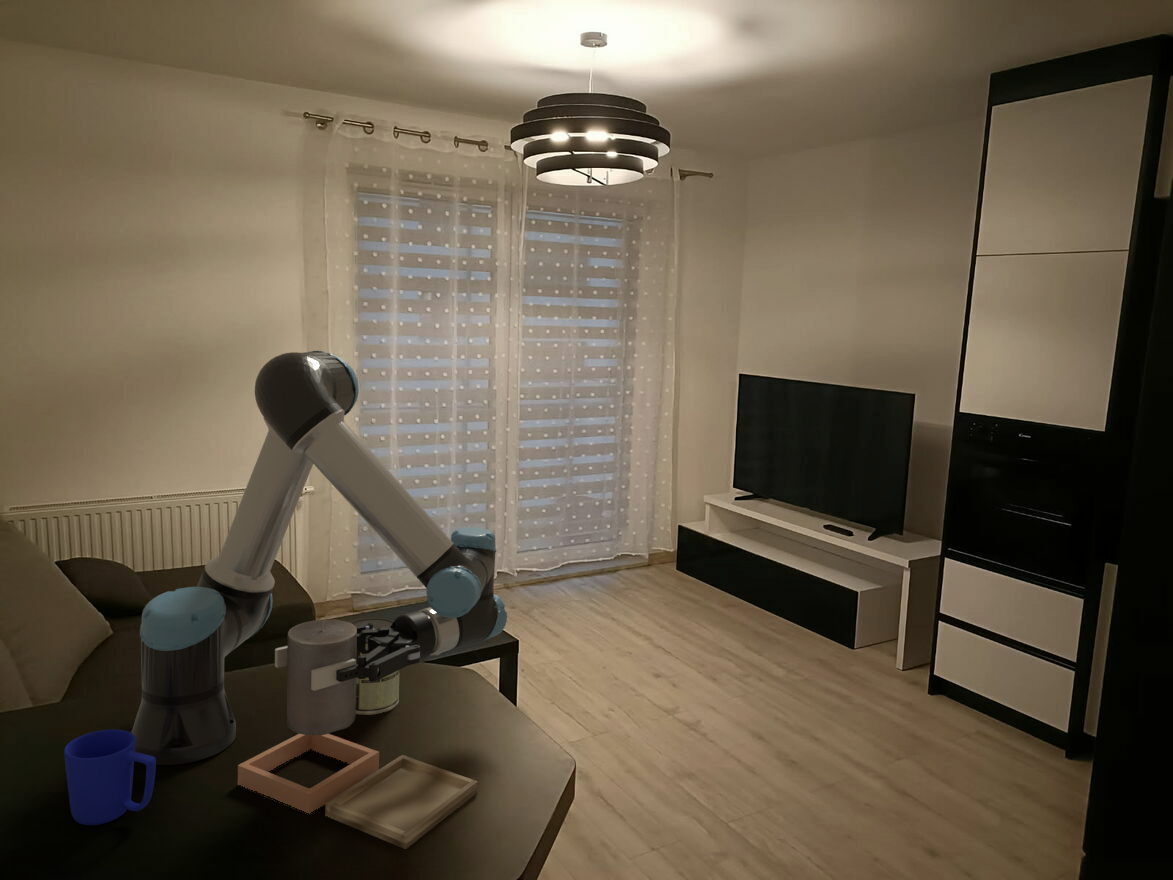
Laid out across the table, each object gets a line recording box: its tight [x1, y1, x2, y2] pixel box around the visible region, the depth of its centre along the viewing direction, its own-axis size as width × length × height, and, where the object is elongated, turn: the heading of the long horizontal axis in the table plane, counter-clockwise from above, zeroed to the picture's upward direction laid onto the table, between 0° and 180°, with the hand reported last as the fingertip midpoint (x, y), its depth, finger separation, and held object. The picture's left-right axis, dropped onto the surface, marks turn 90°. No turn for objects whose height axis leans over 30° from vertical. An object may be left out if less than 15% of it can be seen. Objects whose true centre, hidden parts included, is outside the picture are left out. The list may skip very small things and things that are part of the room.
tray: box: [324, 754, 479, 850], centre depth 118 cm, size 14×16×2 cm
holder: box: [237, 733, 380, 815], centre depth 123 cm, size 14×14×3 cm
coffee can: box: [347, 616, 400, 716], centre depth 148 cm, size 10×10×14 cm
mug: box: [63, 729, 157, 826], centre depth 111 cm, size 8×12×10 cm
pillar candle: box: [286, 619, 357, 735], centre depth 121 cm, size 10×10×15 cm
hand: (294, 669), depth 117 cm, fingers closed on pillar candle, 9 cm apart
